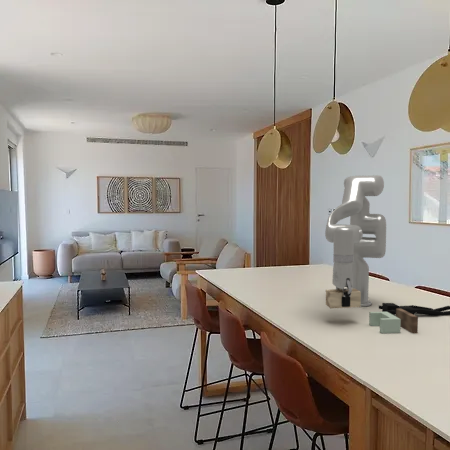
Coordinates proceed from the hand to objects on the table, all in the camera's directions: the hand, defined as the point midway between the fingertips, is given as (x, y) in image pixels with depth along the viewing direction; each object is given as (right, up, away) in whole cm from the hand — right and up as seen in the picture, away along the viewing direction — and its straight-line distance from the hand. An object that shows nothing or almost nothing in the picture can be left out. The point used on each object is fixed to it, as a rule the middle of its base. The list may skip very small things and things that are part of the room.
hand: (342, 303), depth 166 cm
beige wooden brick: (0, -1, 0) cm, 1 cm away
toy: (+36, -8, +15) cm, 40 cm away
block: (+13, -8, -8) cm, 17 cm away
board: (+9, -8, -7) cm, 14 cm away
